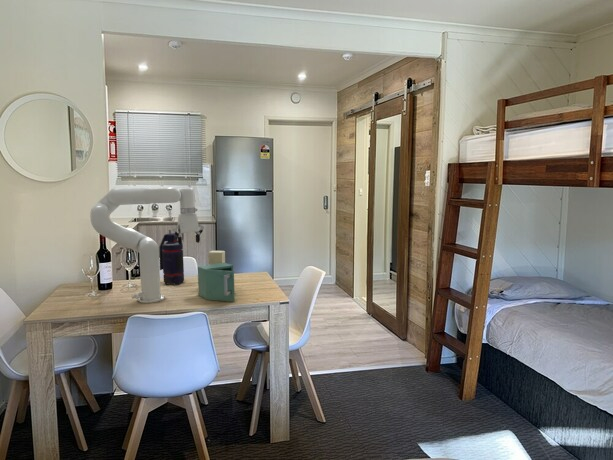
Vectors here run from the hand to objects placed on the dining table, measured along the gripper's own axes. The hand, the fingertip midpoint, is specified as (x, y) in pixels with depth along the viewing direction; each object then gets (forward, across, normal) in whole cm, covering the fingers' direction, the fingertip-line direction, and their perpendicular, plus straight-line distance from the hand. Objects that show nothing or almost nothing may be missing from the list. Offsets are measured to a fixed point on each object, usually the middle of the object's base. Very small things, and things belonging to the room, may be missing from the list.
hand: (189, 243), depth 237 cm
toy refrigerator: (+28, -19, -7) cm, 35 cm away
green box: (+28, -5, +22) cm, 36 cm away
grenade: (+28, -2, -34) cm, 44 cm away
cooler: (+28, -11, +8) cm, 31 cm away
